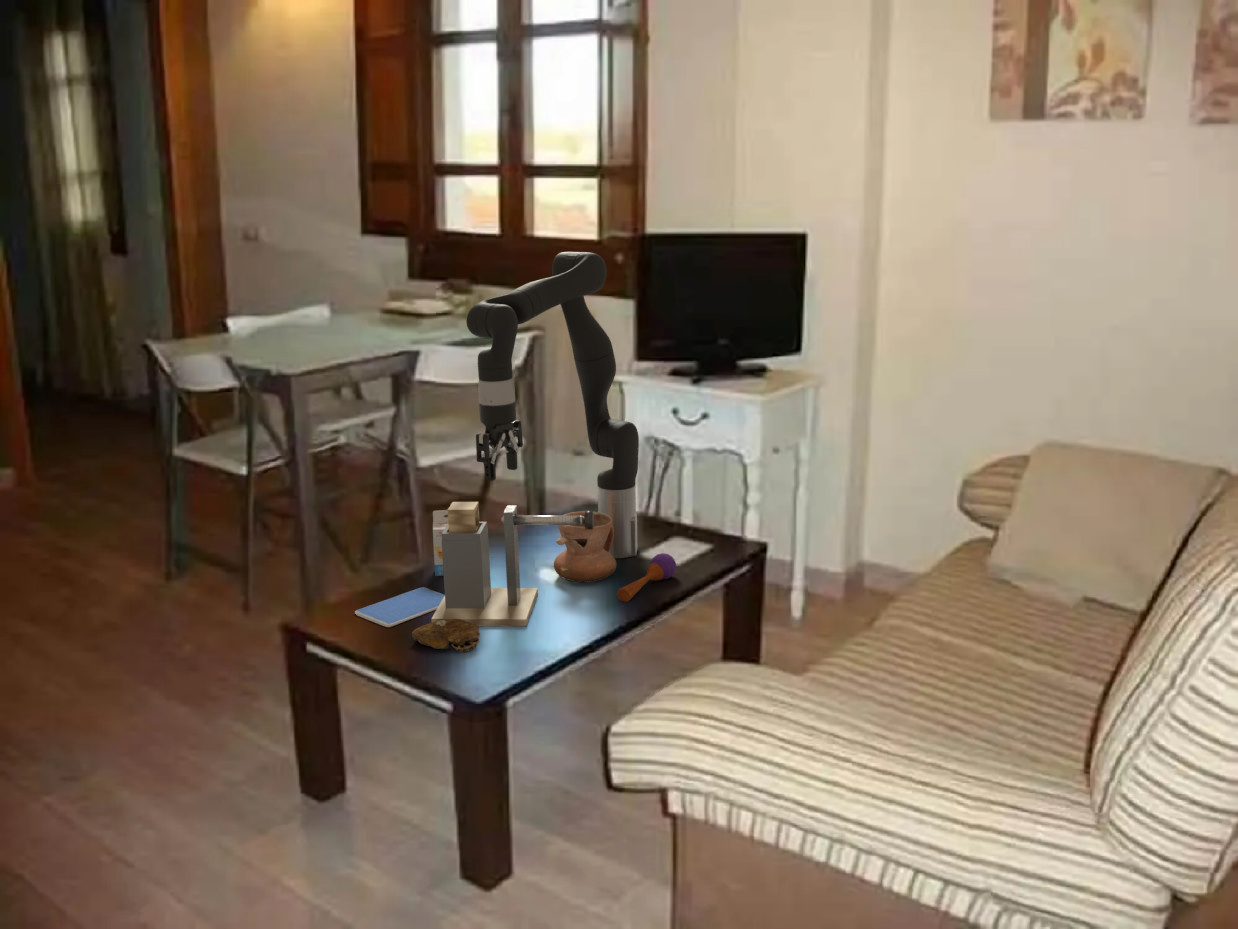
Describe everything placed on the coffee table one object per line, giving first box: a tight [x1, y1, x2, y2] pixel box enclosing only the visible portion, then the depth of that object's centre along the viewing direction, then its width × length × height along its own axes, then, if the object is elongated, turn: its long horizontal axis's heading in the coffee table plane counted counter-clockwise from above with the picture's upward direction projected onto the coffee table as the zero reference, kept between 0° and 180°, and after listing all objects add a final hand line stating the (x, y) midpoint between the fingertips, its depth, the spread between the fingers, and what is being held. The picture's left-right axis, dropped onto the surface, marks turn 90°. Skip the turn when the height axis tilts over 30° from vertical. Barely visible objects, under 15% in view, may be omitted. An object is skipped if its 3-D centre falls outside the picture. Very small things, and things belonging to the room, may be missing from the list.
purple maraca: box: [616, 552, 677, 603], centre depth 268 cm, size 6×6×20 cm
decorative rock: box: [411, 619, 481, 653], centre depth 241 cm, size 11×4×15 cm
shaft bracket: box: [503, 504, 521, 606], centre depth 255 cm, size 2×5×21 cm, turn 176°
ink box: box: [432, 509, 448, 577], centre depth 279 cm, size 8×5×15 cm, turn 98°
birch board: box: [431, 587, 539, 627], centre depth 258 cm, size 20×18×2 cm
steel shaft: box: [500, 510, 594, 530], centre depth 252 cm, size 20×4×4 cm, turn 86°
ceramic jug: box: [553, 510, 618, 583], centre depth 275 cm, size 18×14×14 cm
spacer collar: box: [447, 501, 481, 533], centre depth 254 cm, size 6×6×6 cm
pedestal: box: [442, 521, 492, 609], centre depth 256 cm, size 8×8×17 cm
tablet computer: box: [354, 586, 445, 628], centre depth 260 cm, size 19×13×1 cm, turn 138°
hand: (501, 474), depth 251 cm, fingers open, 8 cm apart
